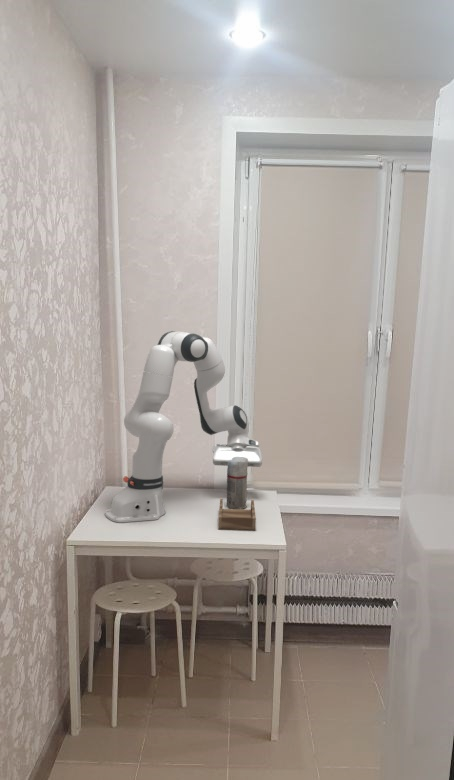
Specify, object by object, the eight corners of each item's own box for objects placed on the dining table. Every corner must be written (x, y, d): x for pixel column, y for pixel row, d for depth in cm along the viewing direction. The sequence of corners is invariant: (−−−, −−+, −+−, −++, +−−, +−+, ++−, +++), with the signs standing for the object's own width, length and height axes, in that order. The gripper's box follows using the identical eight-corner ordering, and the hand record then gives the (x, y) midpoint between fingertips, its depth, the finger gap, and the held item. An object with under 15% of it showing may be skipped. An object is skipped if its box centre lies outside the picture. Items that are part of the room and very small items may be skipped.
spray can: (246, 510, 234) (248, 460, 232) (225, 509, 235) (227, 459, 232) (246, 503, 243) (248, 455, 241) (226, 503, 243) (227, 454, 241)
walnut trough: (219, 510, 234) (220, 498, 233) (253, 511, 234) (253, 499, 233) (218, 529, 212) (218, 517, 211) (255, 530, 212) (255, 518, 211)
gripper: (212, 440, 249) (211, 469, 240) (262, 442, 248) (262, 471, 240) (212, 448, 254) (211, 477, 245) (261, 450, 253) (261, 479, 245)
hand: (237, 474), depth 242 cm, fingers closed
